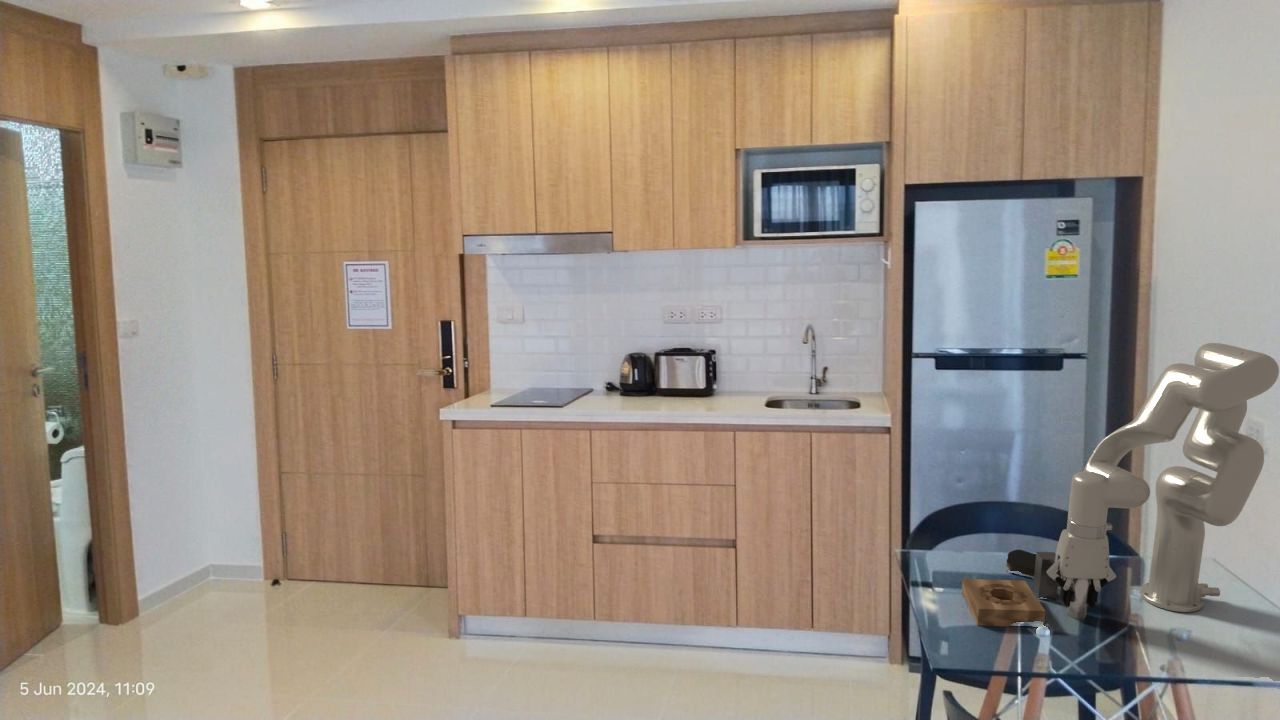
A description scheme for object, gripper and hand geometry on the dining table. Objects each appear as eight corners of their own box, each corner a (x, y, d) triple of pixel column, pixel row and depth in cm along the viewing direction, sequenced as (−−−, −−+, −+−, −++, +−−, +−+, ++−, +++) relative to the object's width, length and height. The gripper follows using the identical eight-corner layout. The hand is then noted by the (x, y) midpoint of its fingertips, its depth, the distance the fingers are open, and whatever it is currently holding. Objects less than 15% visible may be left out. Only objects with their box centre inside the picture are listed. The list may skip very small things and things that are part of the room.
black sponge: (1081, 578, 217) (1082, 564, 217) (1072, 592, 211) (1074, 577, 210) (1011, 560, 227) (1012, 547, 227) (1001, 573, 221) (1002, 559, 220)
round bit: (1082, 611, 201) (1086, 570, 199) (1088, 619, 198) (1092, 578, 196) (1065, 611, 202) (1069, 570, 200) (1071, 619, 198) (1075, 577, 196)
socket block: (1023, 596, 209) (1024, 580, 208) (1043, 627, 195) (1045, 611, 194) (961, 594, 210) (962, 578, 209) (977, 625, 196) (978, 608, 196)
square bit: (1050, 591, 211) (1054, 552, 208) (1056, 599, 207) (1060, 559, 205) (1032, 590, 211) (1036, 551, 209) (1038, 599, 207) (1042, 559, 205)
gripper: (1119, 522, 198) (1110, 597, 202) (1039, 520, 200) (1032, 595, 204) (1134, 536, 191) (1124, 614, 195) (1051, 534, 192) (1044, 611, 197)
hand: (1077, 603), depth 199 cm, fingers open, 4 cm apart
